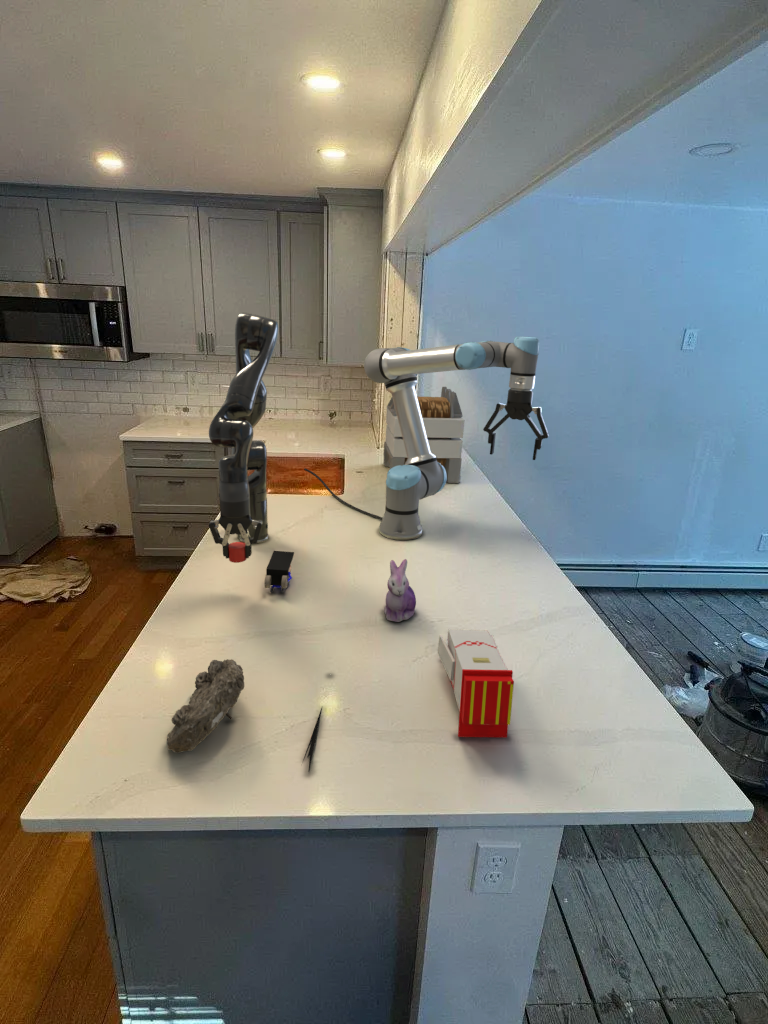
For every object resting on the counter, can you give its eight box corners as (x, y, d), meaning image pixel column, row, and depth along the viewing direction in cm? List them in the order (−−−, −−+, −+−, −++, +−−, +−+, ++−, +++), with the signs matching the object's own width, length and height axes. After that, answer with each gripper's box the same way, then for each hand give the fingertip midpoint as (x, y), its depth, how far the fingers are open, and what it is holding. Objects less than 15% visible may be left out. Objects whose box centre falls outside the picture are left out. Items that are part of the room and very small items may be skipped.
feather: (331, 679, 122) (336, 673, 122) (307, 777, 96) (313, 769, 95) (324, 675, 122) (329, 669, 121) (298, 772, 95) (304, 764, 95)
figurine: (392, 627, 141) (395, 572, 136) (374, 608, 149) (376, 556, 144) (425, 619, 145) (429, 566, 140) (405, 601, 154) (408, 550, 149)
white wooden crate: (382, 463, 289) (386, 382, 275) (445, 464, 293) (451, 384, 279) (390, 482, 257) (394, 392, 243) (460, 483, 261) (468, 394, 247)
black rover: (288, 601, 154) (295, 571, 167) (287, 577, 151) (294, 549, 164) (263, 600, 154) (272, 570, 167) (262, 576, 150) (271, 548, 164)
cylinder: (236, 554, 154) (235, 540, 153) (250, 557, 152) (249, 543, 151) (225, 560, 150) (224, 546, 149) (239, 564, 148) (238, 549, 147)
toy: (488, 613, 130) (523, 677, 101) (484, 667, 133) (517, 744, 104) (435, 612, 130) (455, 676, 101) (432, 666, 133) (451, 743, 103)
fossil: (192, 660, 117) (244, 628, 112) (224, 691, 120) (276, 661, 115) (142, 746, 98) (202, 712, 93) (182, 779, 101) (242, 748, 96)
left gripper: (264, 492, 150) (266, 551, 155) (208, 491, 148) (212, 551, 154) (261, 501, 143) (263, 563, 148) (203, 501, 141) (207, 563, 147)
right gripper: (478, 387, 175) (471, 453, 183) (561, 394, 167) (551, 464, 174) (483, 384, 182) (477, 449, 189) (563, 391, 174) (553, 458, 181)
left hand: (237, 557), depth 151 cm, fingers closed on cylinder, 4 cm apart
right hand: (512, 456), depth 182 cm, fingers open, 13 cm apart
